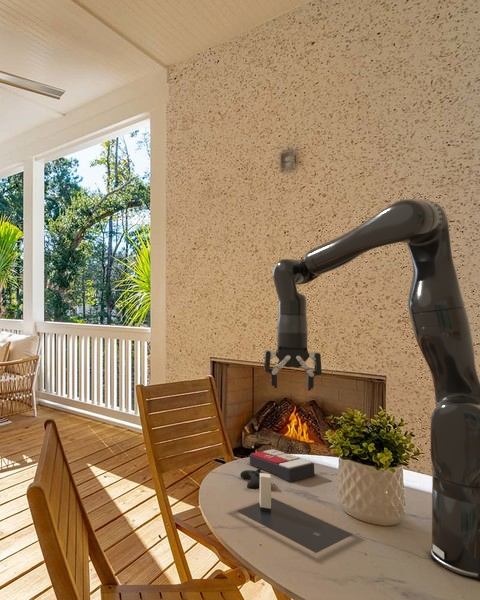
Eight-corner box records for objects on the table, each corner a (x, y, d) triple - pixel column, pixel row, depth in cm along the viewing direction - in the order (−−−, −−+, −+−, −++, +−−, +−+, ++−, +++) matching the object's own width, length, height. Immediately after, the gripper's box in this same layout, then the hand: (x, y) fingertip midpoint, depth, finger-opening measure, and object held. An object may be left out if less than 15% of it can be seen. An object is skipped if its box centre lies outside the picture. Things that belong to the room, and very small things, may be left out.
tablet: (360, 539, 95) (360, 535, 95) (318, 561, 87) (318, 556, 87) (271, 499, 114) (271, 495, 114) (230, 513, 106) (230, 510, 106)
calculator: (272, 447, 142) (314, 460, 129) (273, 460, 142) (315, 475, 129) (248, 452, 138) (289, 466, 124) (249, 466, 137) (290, 481, 124)
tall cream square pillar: (269, 507, 107) (270, 473, 107) (271, 512, 105) (271, 477, 105) (259, 506, 108) (259, 472, 108) (260, 510, 105) (260, 476, 105)
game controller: (238, 473, 128) (253, 460, 127) (251, 487, 127) (266, 473, 127) (246, 487, 118) (262, 473, 118) (260, 502, 118) (276, 487, 117)
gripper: (266, 331, 118) (265, 389, 118) (324, 332, 114) (323, 393, 114) (263, 329, 125) (262, 384, 125) (317, 330, 121) (317, 388, 121)
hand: (291, 388), depth 120 cm, fingers open, 8 cm apart
